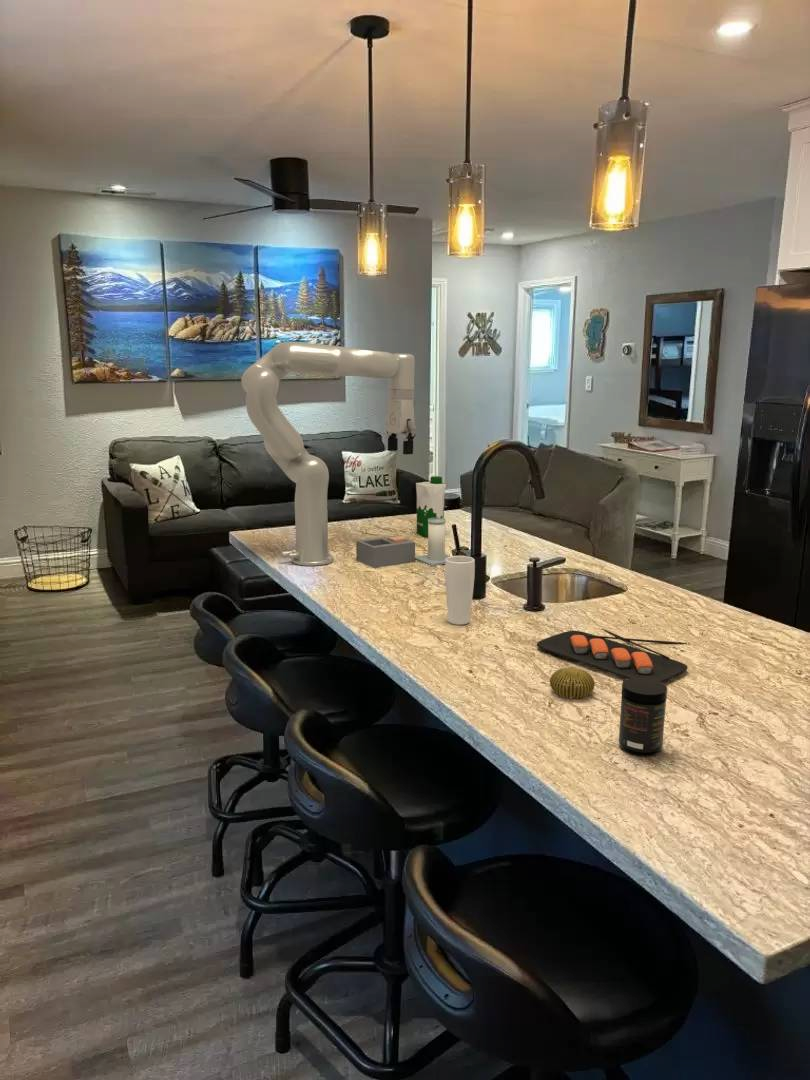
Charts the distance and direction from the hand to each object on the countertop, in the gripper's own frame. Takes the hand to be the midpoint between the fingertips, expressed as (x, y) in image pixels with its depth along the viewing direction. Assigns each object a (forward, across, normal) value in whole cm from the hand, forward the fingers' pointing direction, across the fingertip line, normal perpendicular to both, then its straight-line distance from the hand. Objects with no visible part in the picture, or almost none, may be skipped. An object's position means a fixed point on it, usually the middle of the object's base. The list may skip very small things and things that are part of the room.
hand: (400, 452), depth 245 cm
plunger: (+30, +8, -4) cm, 31 cm away
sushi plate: (+32, +100, +1) cm, 105 cm away
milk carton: (+31, -17, +22) cm, 41 cm away
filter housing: (+32, +8, -8) cm, 33 cm away
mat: (+31, +15, +5) cm, 35 cm away
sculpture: (+32, +110, -24) cm, 117 cm away
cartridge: (+30, +15, +5) cm, 34 cm away
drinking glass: (+32, +66, -20) cm, 76 cm away
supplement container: (+32, +132, -28) cm, 138 cm away
